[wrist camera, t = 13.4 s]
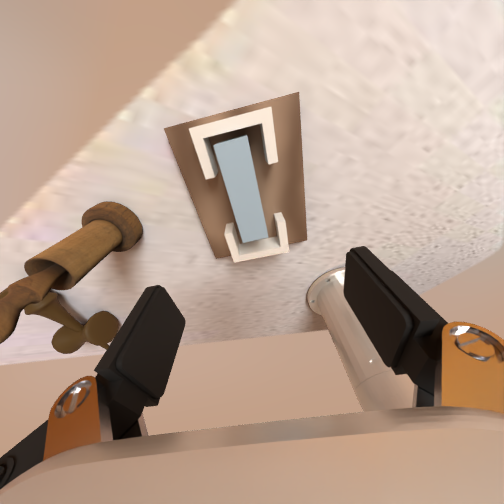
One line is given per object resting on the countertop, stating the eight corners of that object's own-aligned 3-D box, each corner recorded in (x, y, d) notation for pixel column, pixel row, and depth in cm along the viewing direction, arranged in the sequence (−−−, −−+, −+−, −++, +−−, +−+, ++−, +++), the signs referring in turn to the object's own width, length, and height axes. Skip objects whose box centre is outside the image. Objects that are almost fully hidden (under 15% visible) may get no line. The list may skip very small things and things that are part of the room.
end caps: (267, 109, 19) (271, 106, 16) (285, 240, 27) (289, 251, 25) (195, 128, 19) (188, 128, 17) (234, 250, 28) (234, 262, 25)
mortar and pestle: (81, 208, 25) (-165, 328, 10) (123, 195, 24) (-73, 303, 9) (114, 248, 28) (-30, 380, 13) (152, 238, 28) (44, 365, 13)
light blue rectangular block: (246, 134, 20) (247, 135, 15) (264, 219, 25) (268, 237, 21) (219, 142, 20) (213, 145, 16) (243, 224, 25) (242, 242, 21)
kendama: (52, 263, 30) (137, 331, 40) (14, 280, 32) (103, 341, 42) (12, 289, 25) (120, 360, 35) (-30, 307, 27) (83, 369, 37)
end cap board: (295, 94, 19) (298, 91, 18) (304, 235, 28) (307, 240, 27) (168, 128, 20) (163, 128, 19) (217, 253, 30) (215, 258, 28)
